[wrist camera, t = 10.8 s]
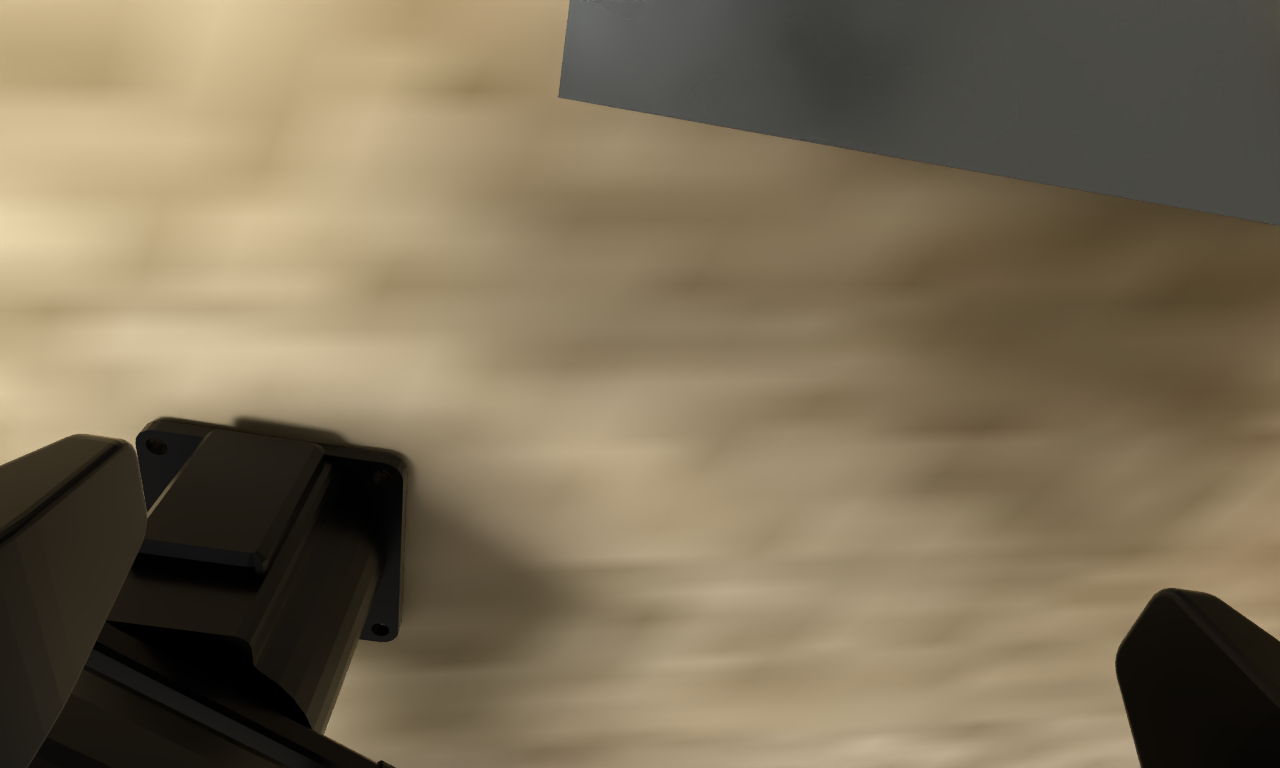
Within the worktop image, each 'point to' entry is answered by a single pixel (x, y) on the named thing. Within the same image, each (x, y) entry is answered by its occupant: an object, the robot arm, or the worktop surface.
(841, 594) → the worktop surface
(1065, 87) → the plate
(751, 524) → the worktop surface
